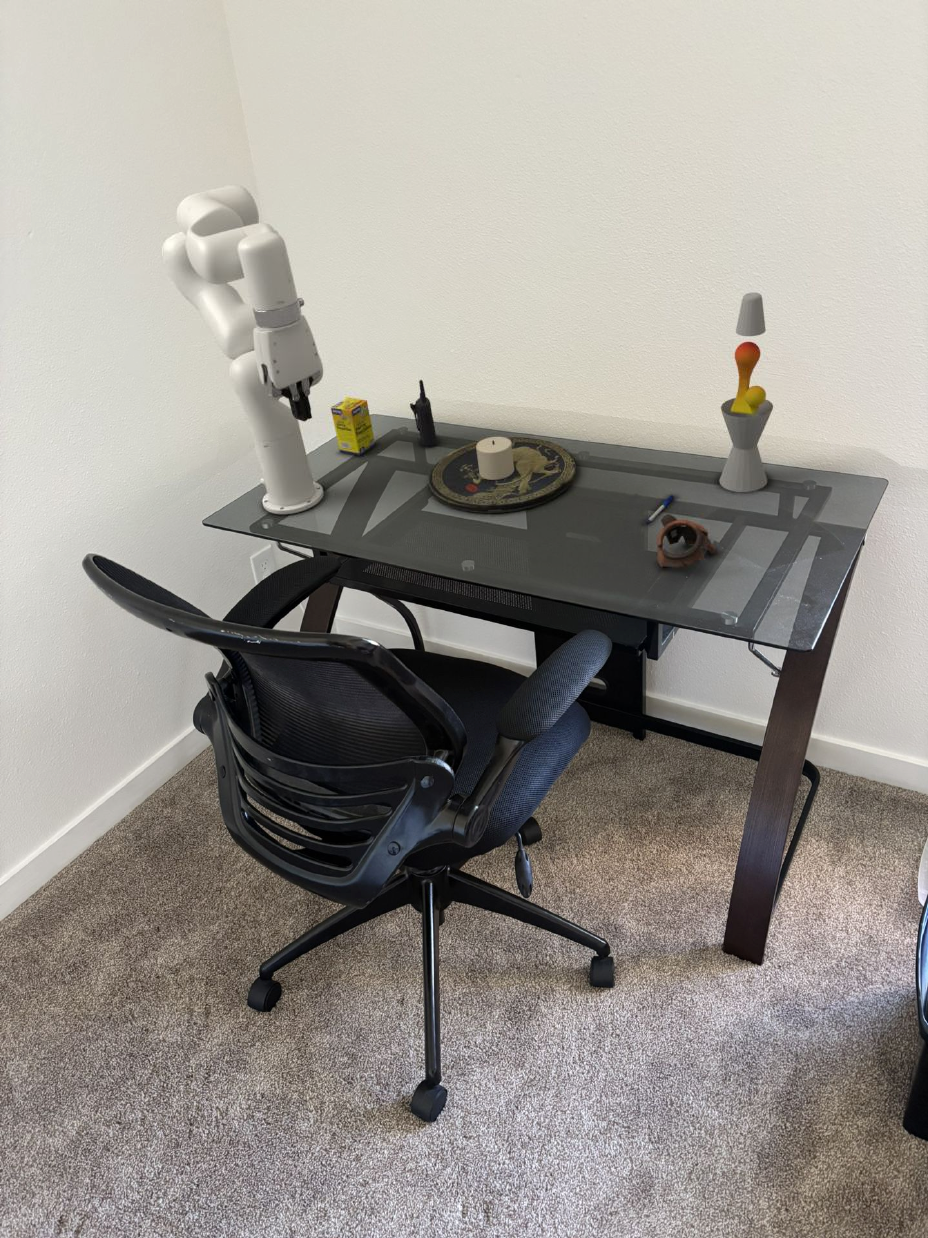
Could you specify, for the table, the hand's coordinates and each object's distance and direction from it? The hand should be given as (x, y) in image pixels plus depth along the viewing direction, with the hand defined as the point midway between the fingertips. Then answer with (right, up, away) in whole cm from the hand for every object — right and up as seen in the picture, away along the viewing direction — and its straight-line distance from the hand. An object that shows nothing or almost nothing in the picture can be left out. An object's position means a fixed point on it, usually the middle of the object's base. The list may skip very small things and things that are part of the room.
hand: (303, 418), depth 165 cm
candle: (+35, -5, +25) cm, 43 cm away
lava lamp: (+81, -9, +13) cm, 82 cm away
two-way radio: (+20, +4, +44) cm, 48 cm away
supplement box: (+5, +3, +46) cm, 46 cm away
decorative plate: (+36, -6, +27) cm, 45 cm away
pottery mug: (+65, -25, -5) cm, 70 cm away
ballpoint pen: (+64, -16, +8) cm, 67 cm away
